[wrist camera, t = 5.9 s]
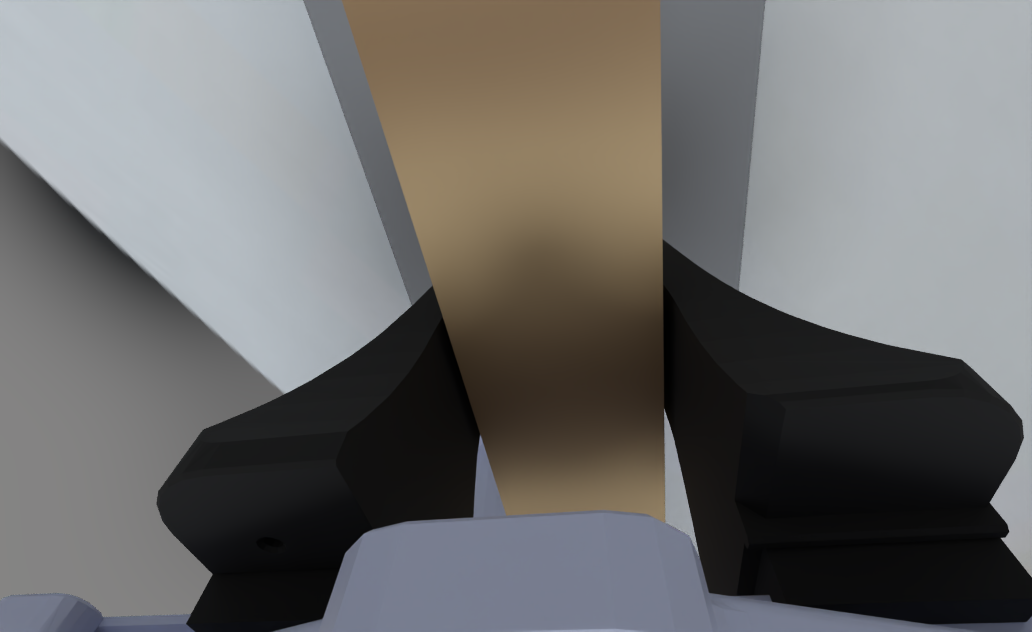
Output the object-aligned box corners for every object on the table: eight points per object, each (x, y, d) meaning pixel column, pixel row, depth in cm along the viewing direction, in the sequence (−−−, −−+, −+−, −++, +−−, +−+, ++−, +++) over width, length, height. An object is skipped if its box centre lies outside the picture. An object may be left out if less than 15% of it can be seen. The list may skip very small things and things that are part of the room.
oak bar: (633, 414, 18) (665, 584, 13) (534, 423, 18) (529, 589, 14) (604, -70, 10) (659, -100, 5) (432, -32, 11) (333, -26, 6)
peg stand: (723, 345, 22) (755, 414, 19) (446, 373, 24) (430, 441, 21) (767, -216, 12) (852, -284, 9) (287, -96, 14) (204, -114, 11)
